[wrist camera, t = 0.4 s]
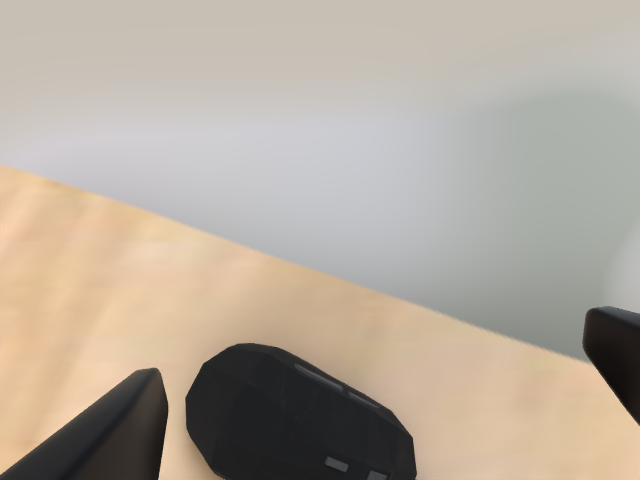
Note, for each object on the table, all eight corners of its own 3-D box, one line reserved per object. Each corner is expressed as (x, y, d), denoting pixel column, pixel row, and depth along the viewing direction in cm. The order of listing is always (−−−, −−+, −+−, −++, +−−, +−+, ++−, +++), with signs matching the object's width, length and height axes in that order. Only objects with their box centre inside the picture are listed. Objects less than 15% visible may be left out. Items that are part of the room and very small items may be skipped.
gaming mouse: (434, 569, 22) (469, 623, 18) (166, 438, 22) (142, 462, 18) (479, 445, 23) (520, 470, 19) (227, 321, 23) (217, 320, 19)
